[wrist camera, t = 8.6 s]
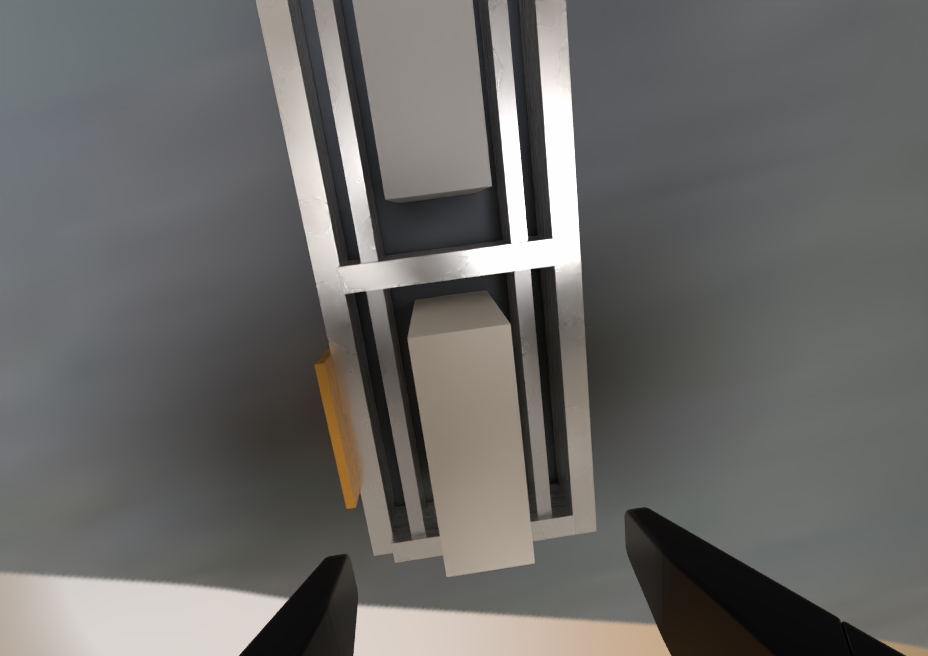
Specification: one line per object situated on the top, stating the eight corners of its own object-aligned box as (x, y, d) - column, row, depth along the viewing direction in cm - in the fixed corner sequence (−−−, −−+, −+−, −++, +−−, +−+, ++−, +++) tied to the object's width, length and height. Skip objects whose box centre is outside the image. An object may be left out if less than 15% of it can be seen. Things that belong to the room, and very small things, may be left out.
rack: (537, -110, 13) (560, -182, 10) (578, 496, 18) (600, 539, 16) (242, -79, 12) (199, -146, 10) (371, 528, 18) (361, 576, 15)
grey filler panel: (450, -16, 13) (458, -128, 9) (474, 193, 15) (491, 185, 10) (366, -7, 13) (333, -115, 9) (399, 203, 15) (384, 199, 10)
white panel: (486, 289, 16) (510, 323, 11) (506, 466, 17) (534, 563, 13) (415, 299, 16) (407, 338, 11) (442, 475, 17) (446, 577, 12)
